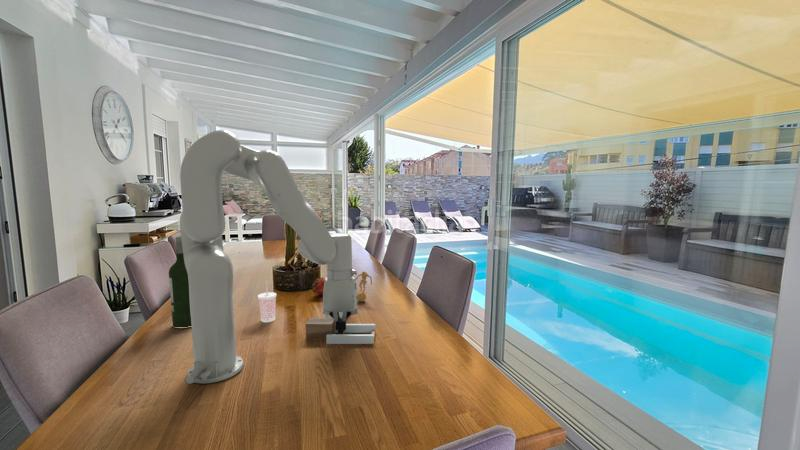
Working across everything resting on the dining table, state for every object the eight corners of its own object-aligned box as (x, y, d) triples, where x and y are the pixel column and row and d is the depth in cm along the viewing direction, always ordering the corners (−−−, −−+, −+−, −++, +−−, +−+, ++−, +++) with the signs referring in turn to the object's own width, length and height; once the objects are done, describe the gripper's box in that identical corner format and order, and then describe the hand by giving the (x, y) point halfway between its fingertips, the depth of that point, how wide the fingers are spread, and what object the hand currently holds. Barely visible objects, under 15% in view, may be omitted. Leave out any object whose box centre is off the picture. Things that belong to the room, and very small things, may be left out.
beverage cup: (255, 322, 123) (253, 282, 121) (265, 315, 129) (264, 277, 127) (270, 324, 121) (269, 283, 120) (281, 317, 127) (279, 278, 126)
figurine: (349, 301, 144) (349, 272, 143) (358, 297, 150) (357, 269, 148) (367, 304, 141) (367, 274, 139) (375, 300, 146) (375, 271, 144)
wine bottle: (175, 321, 123) (169, 235, 120) (201, 318, 126) (196, 234, 122) (170, 330, 116) (162, 239, 112) (198, 327, 118) (191, 237, 115)
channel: (373, 343, 106) (373, 335, 106) (326, 343, 106) (326, 335, 106) (375, 331, 115) (375, 323, 115) (331, 331, 115) (331, 323, 115)
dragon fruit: (310, 302, 148) (333, 299, 157) (321, 293, 144) (344, 290, 153) (304, 283, 152) (327, 281, 161) (315, 274, 147) (338, 272, 156)
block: (332, 340, 109) (331, 324, 108) (306, 339, 109) (305, 323, 109) (335, 333, 114) (335, 318, 113) (310, 332, 114) (310, 317, 114)
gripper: (365, 271, 112) (366, 327, 114) (317, 271, 112) (319, 327, 114) (363, 277, 105) (364, 337, 107) (311, 277, 105) (313, 337, 107)
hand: (340, 332), depth 111 cm, fingers closed
